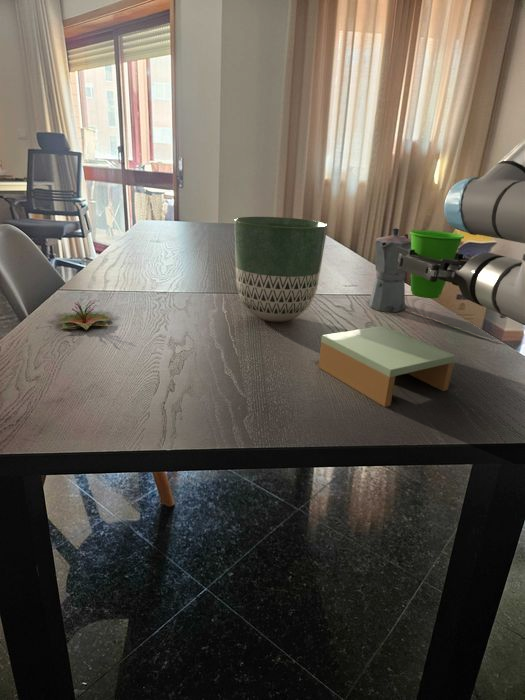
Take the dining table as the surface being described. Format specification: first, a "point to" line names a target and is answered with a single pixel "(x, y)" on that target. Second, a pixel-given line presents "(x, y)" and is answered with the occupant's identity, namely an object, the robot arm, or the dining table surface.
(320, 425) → the dining table surface
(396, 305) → the moka pot
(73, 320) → the lily flower
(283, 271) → the planter
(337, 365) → the shelf
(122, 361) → the dining table surface
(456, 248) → the cup
